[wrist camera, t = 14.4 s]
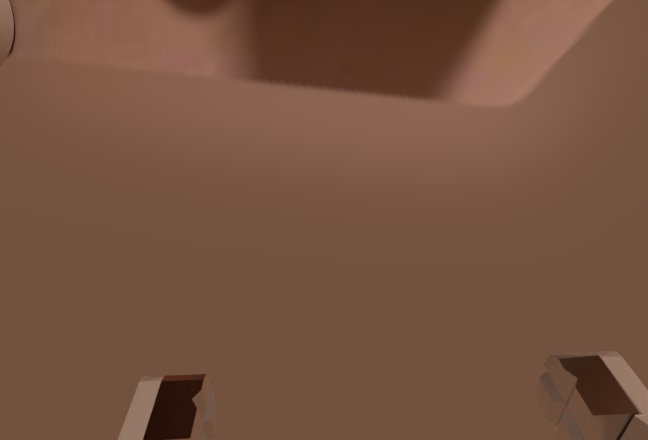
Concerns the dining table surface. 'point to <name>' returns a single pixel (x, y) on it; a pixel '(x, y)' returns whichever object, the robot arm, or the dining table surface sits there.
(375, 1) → the dining table surface
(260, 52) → the dining table surface
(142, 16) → the dining table surface
